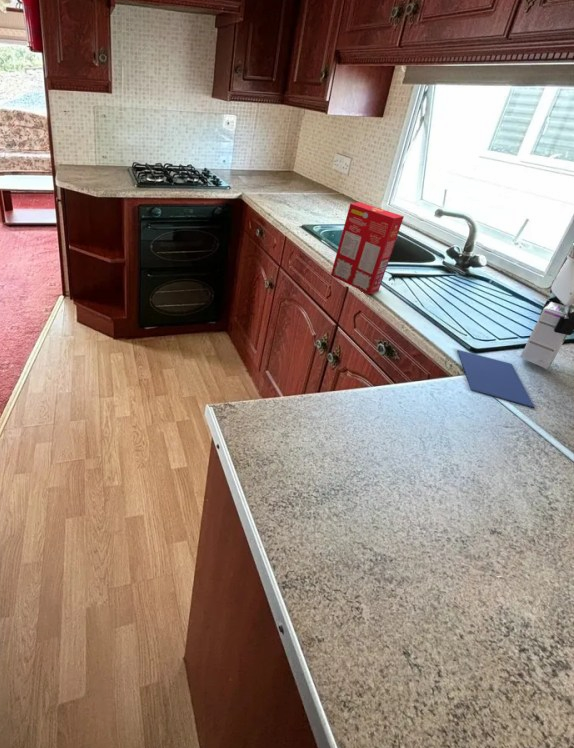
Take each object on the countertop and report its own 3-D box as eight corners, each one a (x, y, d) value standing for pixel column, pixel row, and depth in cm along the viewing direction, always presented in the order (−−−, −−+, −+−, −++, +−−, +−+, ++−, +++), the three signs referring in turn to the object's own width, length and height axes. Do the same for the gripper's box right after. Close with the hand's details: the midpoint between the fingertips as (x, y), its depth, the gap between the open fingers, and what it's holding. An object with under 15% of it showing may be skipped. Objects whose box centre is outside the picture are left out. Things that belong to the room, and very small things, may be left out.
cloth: (511, 364, 99) (511, 363, 99) (534, 408, 86) (534, 407, 86) (457, 350, 103) (457, 349, 103) (471, 390, 89) (471, 389, 89)
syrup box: (547, 369, 97) (576, 318, 90) (518, 357, 101) (544, 306, 94) (553, 361, 100) (581, 311, 94) (525, 349, 104) (550, 300, 98)
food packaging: (378, 290, 129) (403, 216, 118) (369, 294, 126) (394, 218, 115) (339, 272, 139) (359, 202, 128) (330, 275, 136) (350, 203, 125)
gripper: (635, 275, 80) (591, 348, 87) (593, 246, 95) (558, 311, 102) (589, 267, 82) (550, 339, 90) (555, 240, 97) (523, 304, 104)
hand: (554, 324), depth 96 cm, fingers closed on syrup box, 7 cm apart
